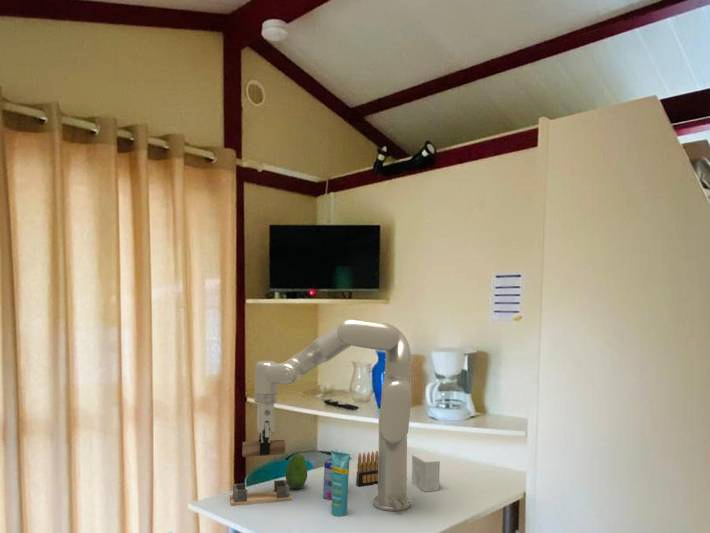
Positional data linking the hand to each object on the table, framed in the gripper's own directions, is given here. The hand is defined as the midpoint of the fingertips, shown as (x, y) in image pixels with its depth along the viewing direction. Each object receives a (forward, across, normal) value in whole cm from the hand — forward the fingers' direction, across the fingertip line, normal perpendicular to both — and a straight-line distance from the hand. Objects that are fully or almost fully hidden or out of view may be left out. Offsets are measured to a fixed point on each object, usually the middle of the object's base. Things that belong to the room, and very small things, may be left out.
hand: (263, 452), depth 183 cm
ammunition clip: (+16, +5, -40) cm, 43 cm away
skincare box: (+15, -2, -59) cm, 61 cm away
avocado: (+16, +8, -13) cm, 22 cm away
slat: (+1, 0, 0) cm, 1 cm away
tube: (+16, -18, -22) cm, 33 cm away
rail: (+16, +1, 0) cm, 16 cm away
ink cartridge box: (+16, -2, -25) cm, 30 cm away
